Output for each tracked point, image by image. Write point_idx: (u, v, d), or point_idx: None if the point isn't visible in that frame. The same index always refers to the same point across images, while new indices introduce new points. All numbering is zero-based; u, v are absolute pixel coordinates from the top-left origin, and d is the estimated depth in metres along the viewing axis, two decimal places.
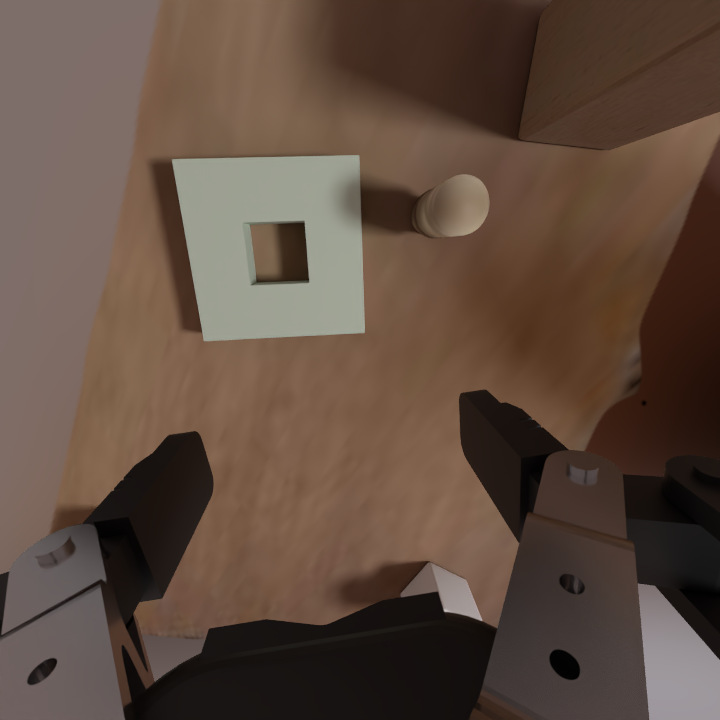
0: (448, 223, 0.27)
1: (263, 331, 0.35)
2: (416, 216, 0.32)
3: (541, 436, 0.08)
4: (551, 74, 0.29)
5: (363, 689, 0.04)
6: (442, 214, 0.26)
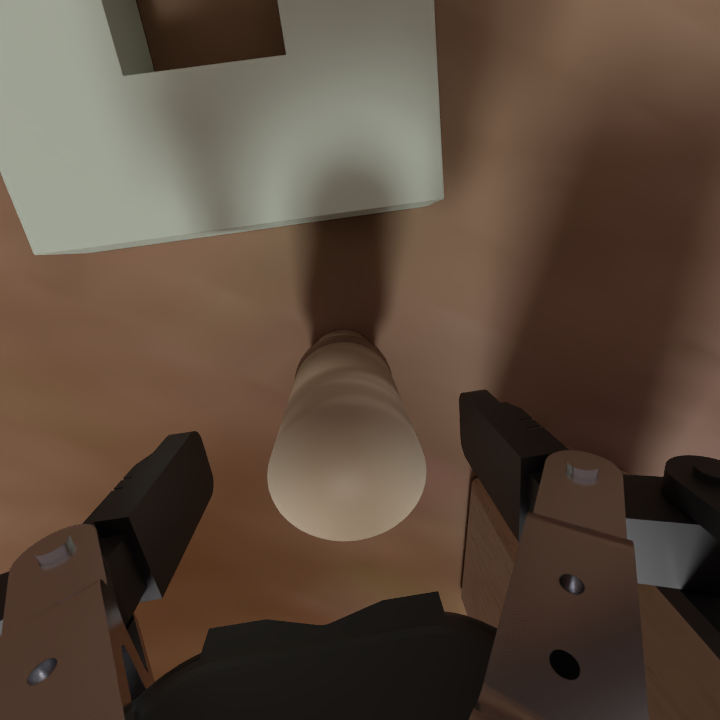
0: (295, 454, 0.09)
1: None
2: (330, 344, 0.14)
3: (541, 436, 0.08)
4: None
5: (363, 689, 0.04)
6: (317, 433, 0.09)
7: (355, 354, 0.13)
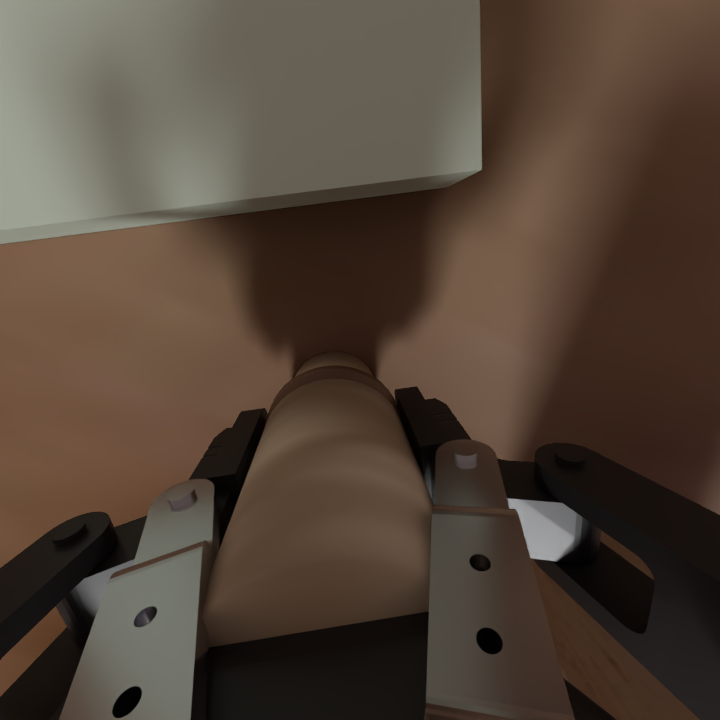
0: None
1: None
2: (315, 383, 0.10)
3: (453, 428, 0.09)
4: None
5: (363, 689, 0.04)
6: (275, 610, 0.04)
7: (351, 403, 0.08)
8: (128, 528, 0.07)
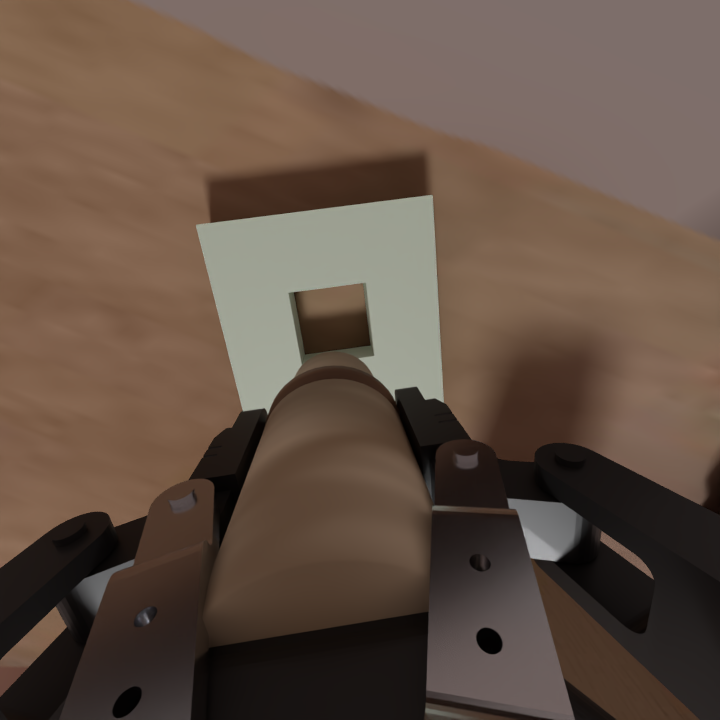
0: None
1: (227, 311, 0.25)
2: (315, 383, 0.10)
3: (453, 428, 0.09)
4: None
5: (363, 689, 0.04)
6: (275, 610, 0.04)
7: (351, 403, 0.08)
8: (128, 528, 0.07)
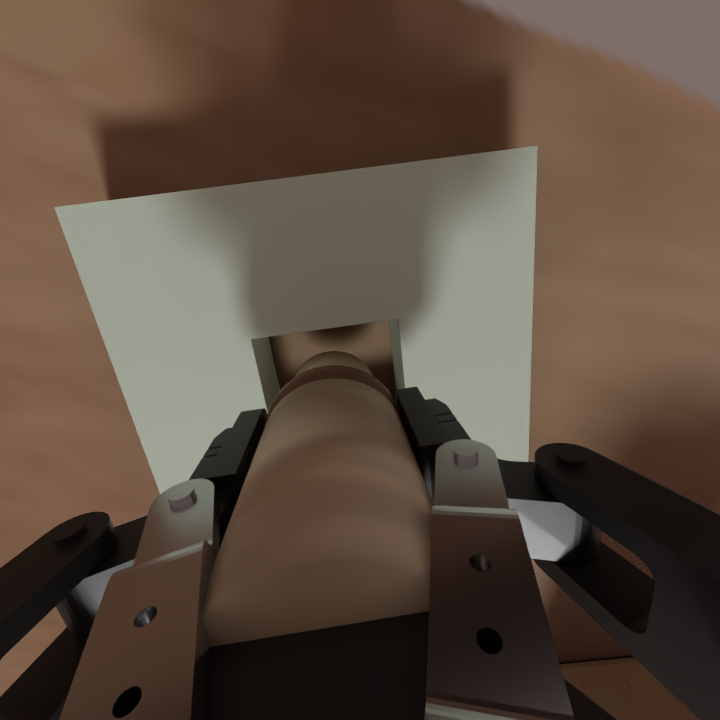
0: None
1: (134, 374, 0.13)
2: (315, 382, 0.10)
3: (453, 428, 0.09)
4: None
5: (363, 689, 0.04)
6: (275, 609, 0.04)
7: (351, 403, 0.08)
8: (128, 528, 0.07)
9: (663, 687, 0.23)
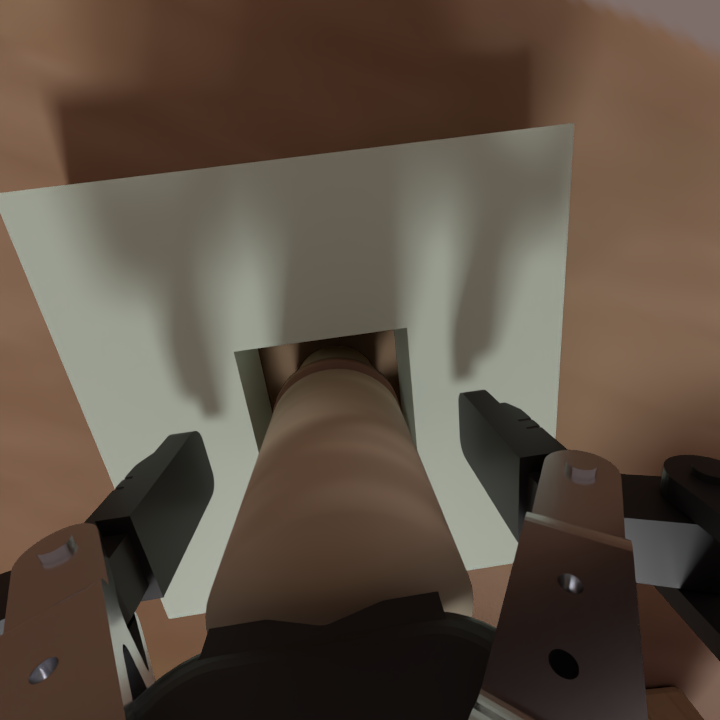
0: (253, 587, 0.05)
1: (96, 392, 0.11)
2: (320, 372, 0.10)
3: (540, 436, 0.08)
4: None
5: (363, 689, 0.04)
6: (290, 556, 0.05)
7: (354, 390, 0.09)
8: None
9: None
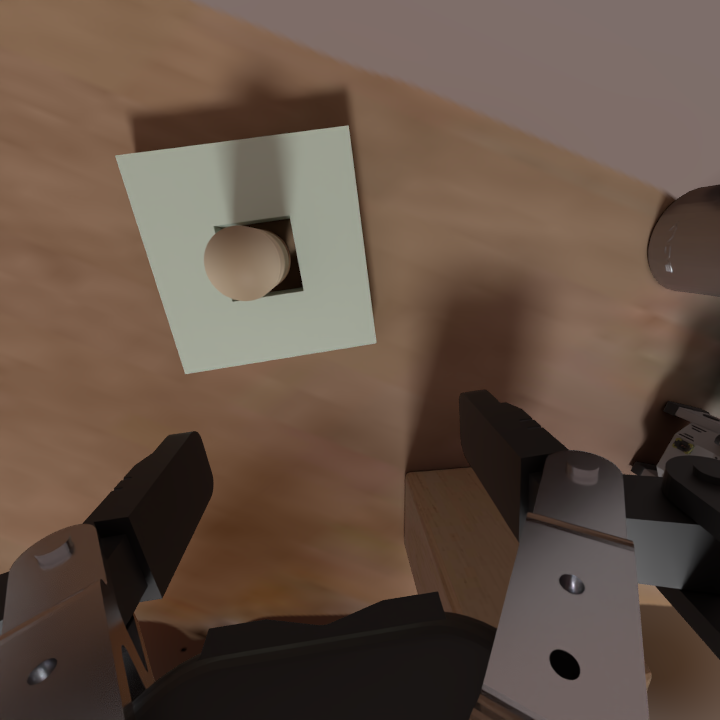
0: (216, 250, 0.20)
1: (153, 245, 0.26)
2: None
3: (541, 436, 0.08)
4: (452, 495, 0.34)
5: (363, 689, 0.04)
6: (225, 239, 0.20)
7: None
8: None
9: None
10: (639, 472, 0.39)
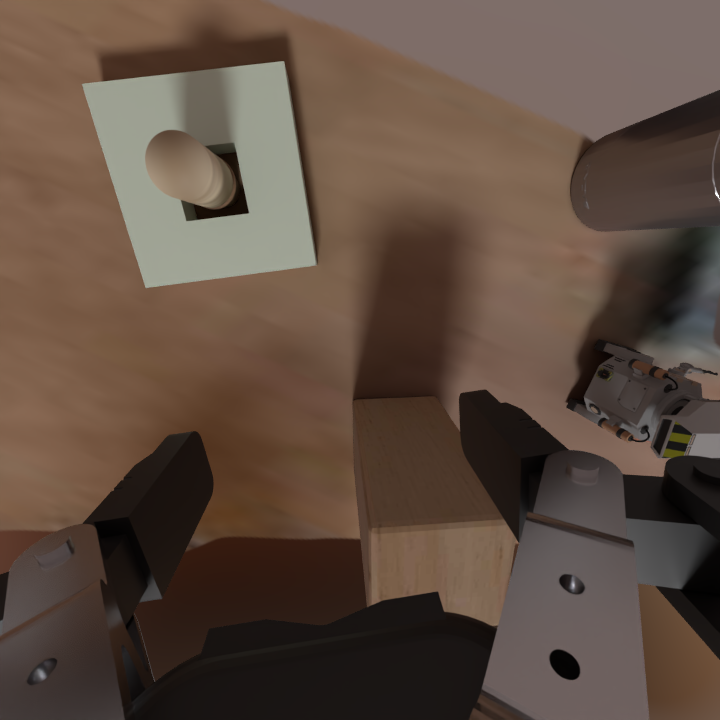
0: (155, 151, 0.24)
1: (116, 166, 0.30)
2: None
3: (541, 436, 0.08)
4: (389, 413, 0.37)
5: (363, 689, 0.04)
6: (163, 142, 0.23)
7: None
8: None
9: (429, 402, 0.40)
10: (573, 407, 0.42)
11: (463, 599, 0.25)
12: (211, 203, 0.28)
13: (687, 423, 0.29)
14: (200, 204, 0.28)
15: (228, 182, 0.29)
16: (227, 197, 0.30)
